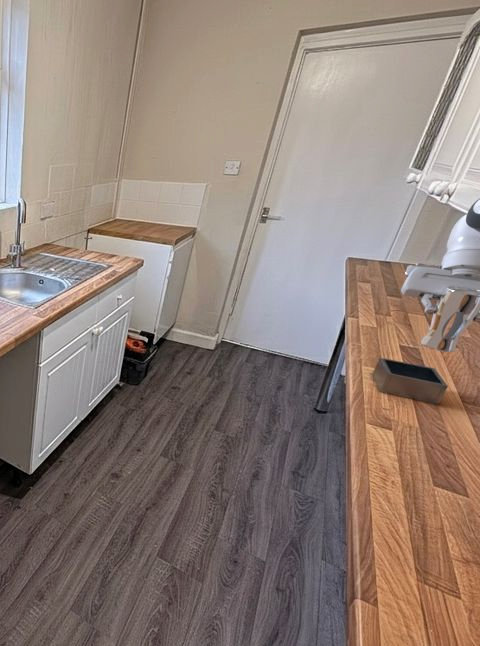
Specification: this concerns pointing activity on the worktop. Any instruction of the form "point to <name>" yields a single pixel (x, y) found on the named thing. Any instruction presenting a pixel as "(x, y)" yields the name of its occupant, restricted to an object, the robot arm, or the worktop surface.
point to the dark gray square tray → (409, 380)
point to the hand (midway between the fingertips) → (453, 316)
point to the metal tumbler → (451, 318)
